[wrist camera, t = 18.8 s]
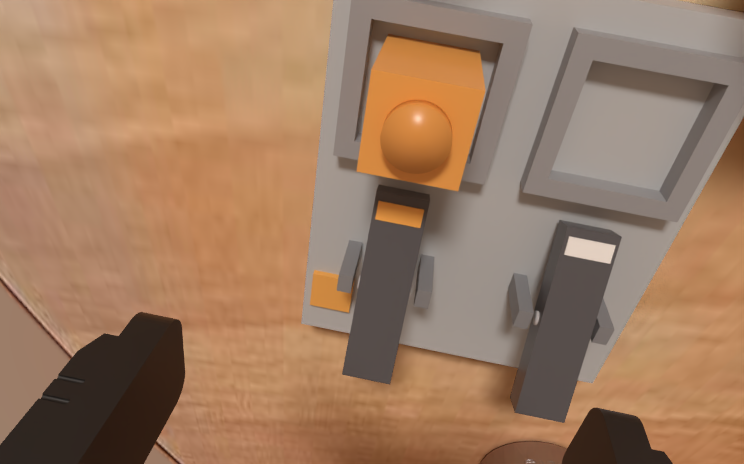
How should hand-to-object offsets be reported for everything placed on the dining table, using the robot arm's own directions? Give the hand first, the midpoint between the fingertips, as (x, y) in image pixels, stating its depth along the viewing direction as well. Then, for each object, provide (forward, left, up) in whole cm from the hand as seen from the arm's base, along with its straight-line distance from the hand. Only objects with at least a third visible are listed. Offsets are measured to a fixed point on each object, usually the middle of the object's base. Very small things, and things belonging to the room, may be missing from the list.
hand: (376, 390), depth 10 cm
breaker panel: (-6, -5, -22) cm, 23 cm away
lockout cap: (0, 0, -19) cm, 19 cm away
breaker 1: (-10, 0, -16) cm, 19 cm away
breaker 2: (-10, -10, -16) cm, 22 cm away
